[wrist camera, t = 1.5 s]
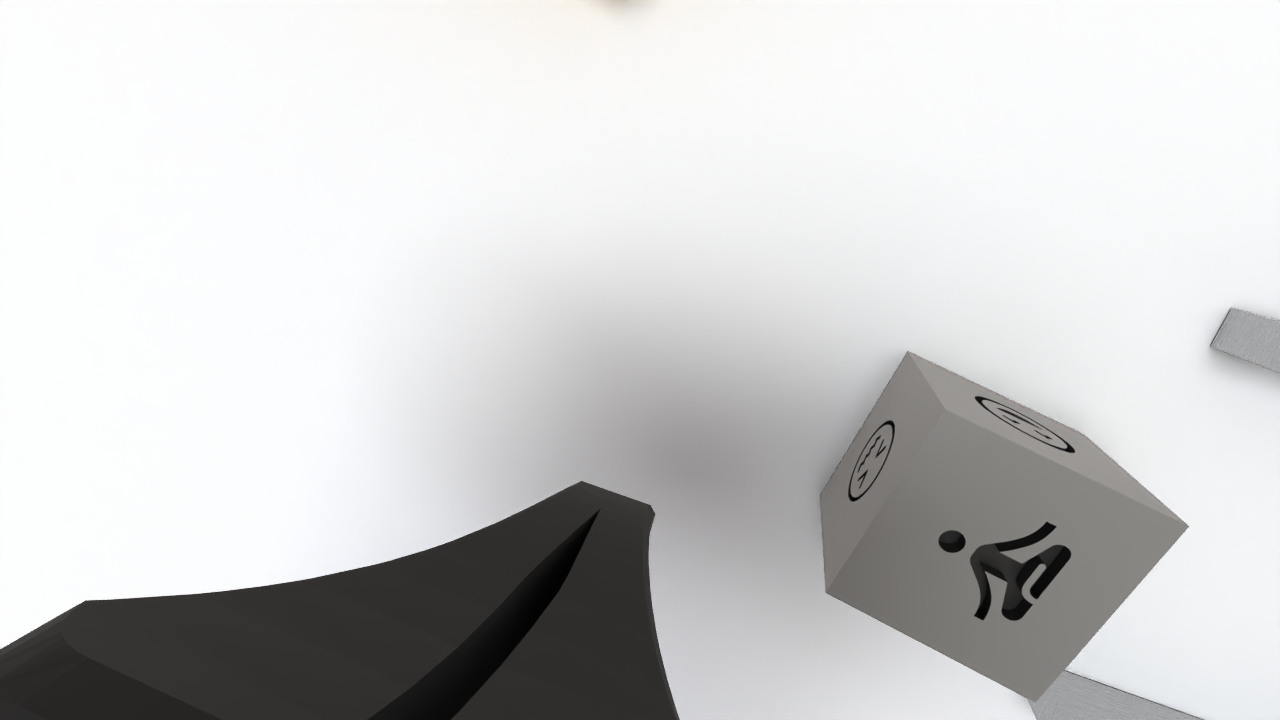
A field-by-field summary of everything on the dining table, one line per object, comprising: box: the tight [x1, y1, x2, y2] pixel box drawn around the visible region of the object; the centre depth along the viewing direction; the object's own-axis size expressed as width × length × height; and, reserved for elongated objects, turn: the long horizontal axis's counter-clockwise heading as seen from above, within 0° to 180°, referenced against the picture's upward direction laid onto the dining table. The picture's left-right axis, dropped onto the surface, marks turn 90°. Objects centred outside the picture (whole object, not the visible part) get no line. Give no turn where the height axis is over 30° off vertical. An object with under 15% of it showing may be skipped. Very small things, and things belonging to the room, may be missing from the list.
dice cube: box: [820, 351, 1189, 703], centre depth 16 cm, size 5×5×5 cm
